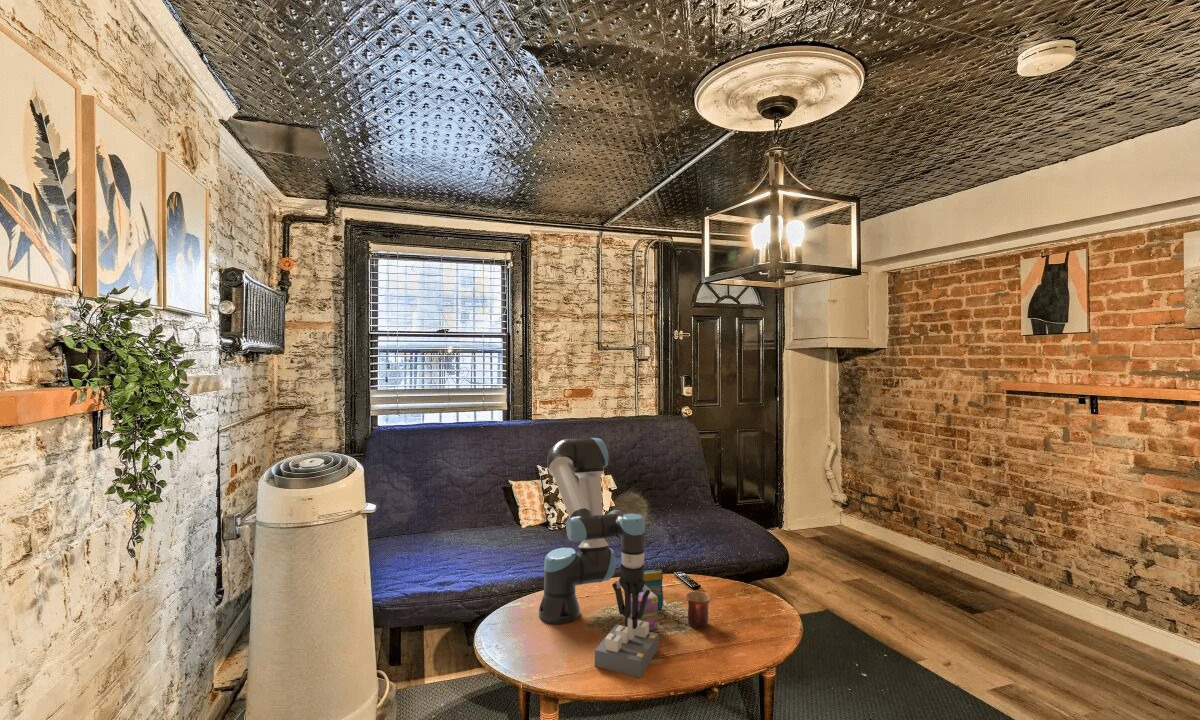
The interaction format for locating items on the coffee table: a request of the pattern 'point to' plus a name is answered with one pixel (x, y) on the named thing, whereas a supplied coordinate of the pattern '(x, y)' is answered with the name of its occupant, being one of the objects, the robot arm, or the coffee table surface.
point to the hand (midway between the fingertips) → (630, 637)
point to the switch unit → (628, 655)
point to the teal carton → (655, 585)
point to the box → (648, 610)
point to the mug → (698, 609)
